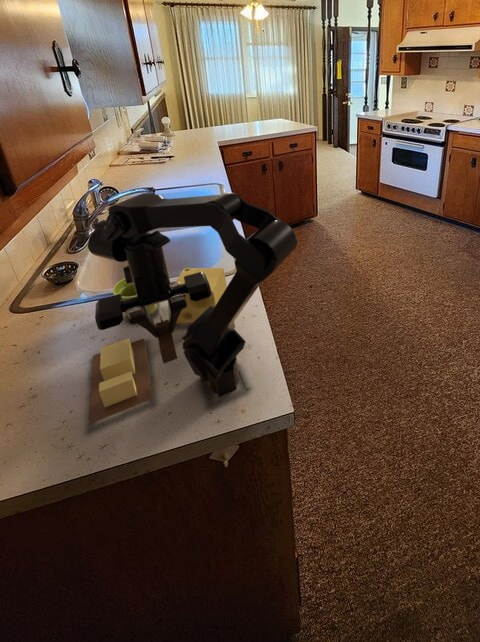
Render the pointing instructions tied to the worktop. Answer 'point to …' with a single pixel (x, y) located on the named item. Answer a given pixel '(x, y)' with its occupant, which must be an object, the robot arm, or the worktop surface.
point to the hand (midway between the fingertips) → (164, 333)
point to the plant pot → (128, 292)
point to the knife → (165, 339)
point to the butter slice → (117, 389)
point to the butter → (117, 359)
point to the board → (139, 378)
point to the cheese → (199, 307)
